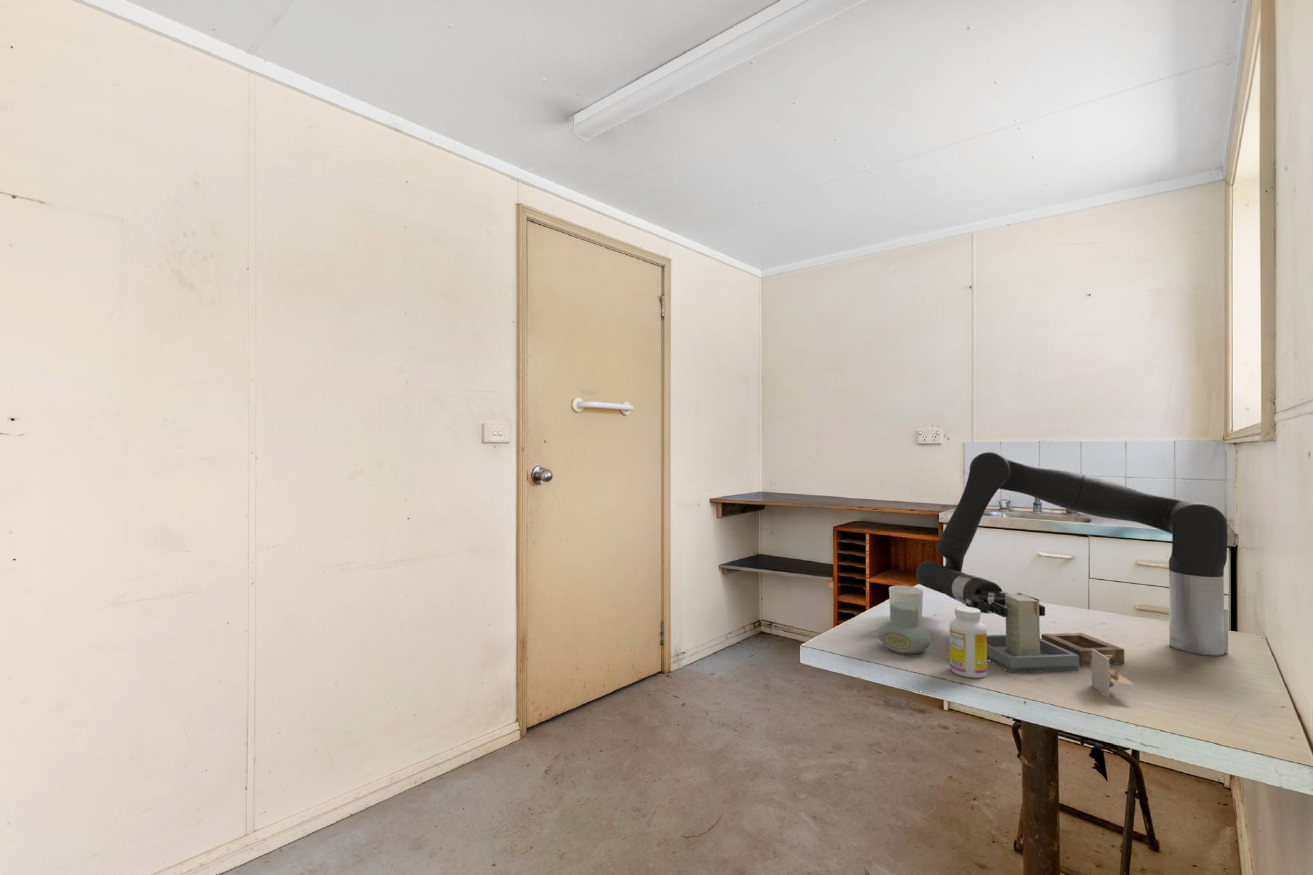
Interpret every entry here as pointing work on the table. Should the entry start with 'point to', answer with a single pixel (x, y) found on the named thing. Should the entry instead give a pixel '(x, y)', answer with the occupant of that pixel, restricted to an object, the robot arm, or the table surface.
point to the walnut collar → (1085, 647)
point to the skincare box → (1022, 625)
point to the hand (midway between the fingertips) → (1025, 612)
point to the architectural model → (1105, 673)
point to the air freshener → (904, 630)
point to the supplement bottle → (968, 643)
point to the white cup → (907, 597)
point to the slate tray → (1031, 657)
